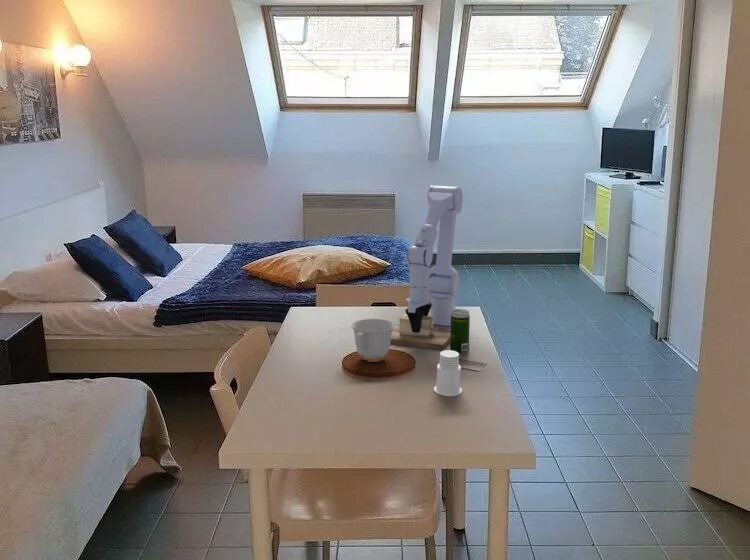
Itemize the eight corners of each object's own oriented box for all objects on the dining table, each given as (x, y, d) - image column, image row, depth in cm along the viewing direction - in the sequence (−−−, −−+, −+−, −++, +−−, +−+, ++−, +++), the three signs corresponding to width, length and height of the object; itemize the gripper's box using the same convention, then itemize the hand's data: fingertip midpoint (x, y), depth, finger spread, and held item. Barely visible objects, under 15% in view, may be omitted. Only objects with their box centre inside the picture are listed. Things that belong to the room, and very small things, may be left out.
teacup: (338, 366, 198) (337, 330, 195) (364, 349, 210) (364, 316, 208) (377, 373, 192) (377, 337, 190) (401, 356, 205) (402, 322, 203)
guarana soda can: (472, 352, 208) (473, 311, 205) (459, 356, 205) (460, 315, 202) (459, 347, 212) (460, 307, 209) (446, 351, 209) (446, 311, 206)
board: (394, 328, 230) (394, 324, 229) (455, 335, 223) (455, 330, 222) (378, 341, 217) (378, 337, 217) (442, 349, 210) (442, 344, 210)
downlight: (427, 387, 183) (429, 350, 180) (451, 382, 185) (453, 346, 183) (443, 400, 176) (445, 361, 173) (468, 395, 178) (470, 357, 176)
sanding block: (404, 329, 224) (405, 313, 222) (433, 332, 220) (433, 316, 219) (399, 334, 219) (399, 318, 218) (428, 337, 216) (428, 321, 215)
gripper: (414, 279, 224) (413, 321, 227) (398, 290, 211) (398, 334, 214) (436, 281, 221) (435, 323, 225) (421, 292, 208) (421, 337, 211)
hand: (418, 329), depth 219 cm, fingers closed on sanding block, 5 cm apart
